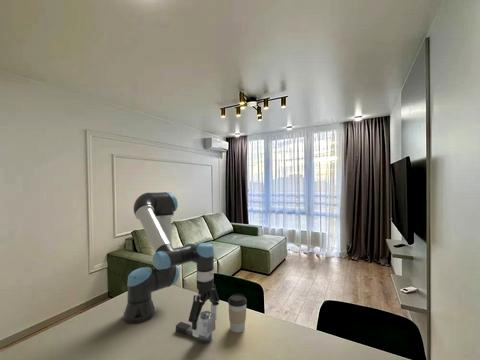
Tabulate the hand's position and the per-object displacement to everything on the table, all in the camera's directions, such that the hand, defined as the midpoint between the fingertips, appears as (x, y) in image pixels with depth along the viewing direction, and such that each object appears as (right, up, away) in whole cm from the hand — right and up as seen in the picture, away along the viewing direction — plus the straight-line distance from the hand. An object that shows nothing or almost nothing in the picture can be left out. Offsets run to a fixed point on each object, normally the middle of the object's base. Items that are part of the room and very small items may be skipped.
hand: (205, 327), depth 101 cm
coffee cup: (+14, -6, +8) cm, 17 cm away
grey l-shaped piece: (-6, -5, +3) cm, 8 cm away
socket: (0, -2, 0) cm, 2 cm away
